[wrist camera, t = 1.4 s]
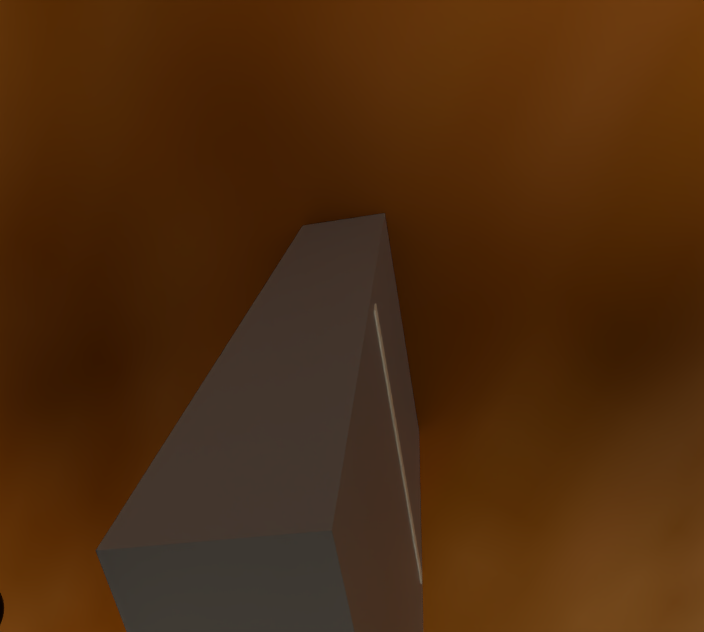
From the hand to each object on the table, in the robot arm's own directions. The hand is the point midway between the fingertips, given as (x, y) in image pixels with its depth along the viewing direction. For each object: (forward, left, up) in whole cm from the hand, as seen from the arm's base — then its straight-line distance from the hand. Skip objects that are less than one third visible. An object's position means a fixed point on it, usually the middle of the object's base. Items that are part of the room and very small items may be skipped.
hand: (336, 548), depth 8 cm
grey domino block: (0, 0, -6) cm, 6 cm away
